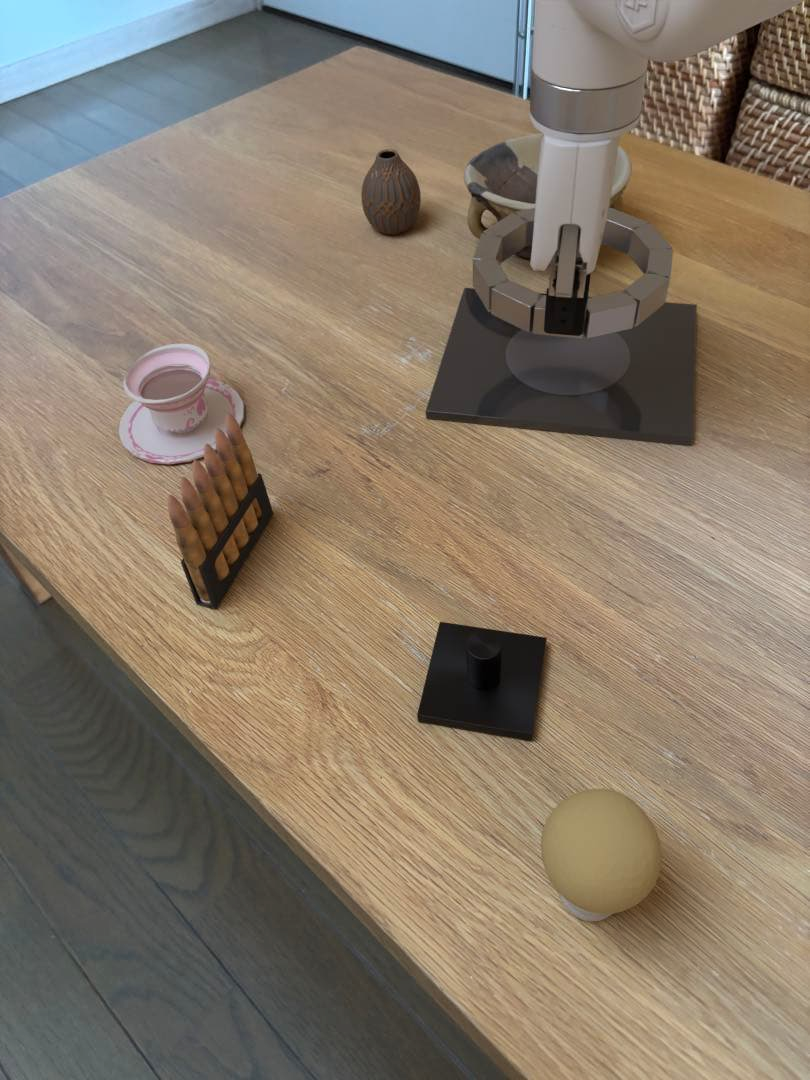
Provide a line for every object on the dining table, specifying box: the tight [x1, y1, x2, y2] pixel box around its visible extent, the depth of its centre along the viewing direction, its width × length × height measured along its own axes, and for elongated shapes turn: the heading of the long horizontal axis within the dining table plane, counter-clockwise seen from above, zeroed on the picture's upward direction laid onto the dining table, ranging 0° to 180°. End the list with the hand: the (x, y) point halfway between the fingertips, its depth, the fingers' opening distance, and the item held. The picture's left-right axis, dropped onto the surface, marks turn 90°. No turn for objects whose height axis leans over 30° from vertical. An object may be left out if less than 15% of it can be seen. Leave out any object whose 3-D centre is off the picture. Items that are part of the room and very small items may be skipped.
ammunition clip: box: [167, 413, 274, 610], centre depth 67 cm, size 11×2×12 cm, turn 160°
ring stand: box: [416, 621, 548, 742], centre depth 60 cm, size 8×8×5 cm
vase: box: [360, 148, 422, 236], centre depth 100 cm, size 7×7×9 cm
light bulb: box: [540, 788, 663, 922], centre depth 48 cm, size 6×6×10 cm
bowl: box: [463, 132, 633, 260], centre depth 95 cm, size 18×18×10 cm
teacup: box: [118, 343, 245, 465], centre depth 80 cm, size 12×12×6 cm
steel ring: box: [472, 208, 674, 339], centre depth 77 cm, size 17×17×3 cm
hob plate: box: [425, 287, 698, 447], centre depth 84 cm, size 24×20×1 cm
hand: (565, 320), depth 72 cm, fingers closed on steel ring, 2 cm apart
